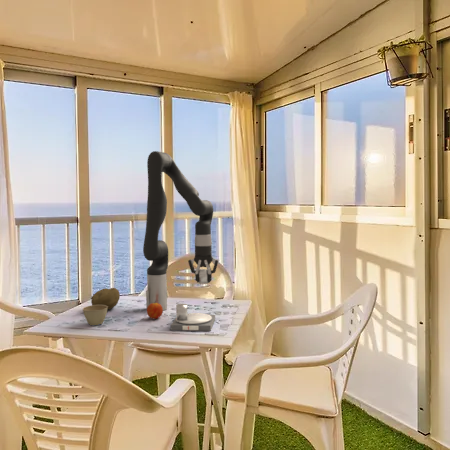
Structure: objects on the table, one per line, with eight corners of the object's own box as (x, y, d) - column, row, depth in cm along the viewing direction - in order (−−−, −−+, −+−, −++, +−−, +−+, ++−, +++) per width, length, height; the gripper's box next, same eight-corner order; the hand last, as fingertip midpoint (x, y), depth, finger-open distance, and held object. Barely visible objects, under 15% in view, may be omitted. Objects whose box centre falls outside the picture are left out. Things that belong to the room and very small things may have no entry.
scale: (170, 330, 164) (170, 323, 164) (178, 319, 180) (178, 312, 180) (210, 331, 162) (210, 324, 162) (215, 319, 179) (215, 313, 179)
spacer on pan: (175, 320, 167) (175, 306, 167) (177, 317, 172) (177, 303, 172) (186, 320, 167) (186, 306, 167) (188, 317, 171) (188, 303, 171)
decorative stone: (106, 315, 189) (105, 293, 189) (85, 313, 192) (84, 292, 192) (125, 306, 205) (124, 286, 205) (105, 305, 208) (104, 285, 208)
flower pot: (82, 322, 177) (81, 306, 177) (106, 319, 181) (105, 303, 181) (84, 328, 168) (83, 311, 168) (109, 325, 172) (109, 308, 171)
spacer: (197, 283, 183) (197, 270, 183) (199, 282, 188) (199, 268, 188) (207, 283, 183) (207, 270, 183) (209, 282, 188) (208, 269, 187)
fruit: (149, 321, 178) (148, 303, 177) (145, 317, 184) (144, 300, 184) (164, 319, 181) (164, 301, 180) (160, 315, 187) (160, 298, 187)
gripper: (186, 245, 182) (186, 283, 182) (218, 245, 180) (218, 283, 181) (188, 243, 189) (189, 280, 190) (219, 243, 188) (220, 280, 189)
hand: (203, 282), depth 185 cm, fingers closed on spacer, 4 cm apart
